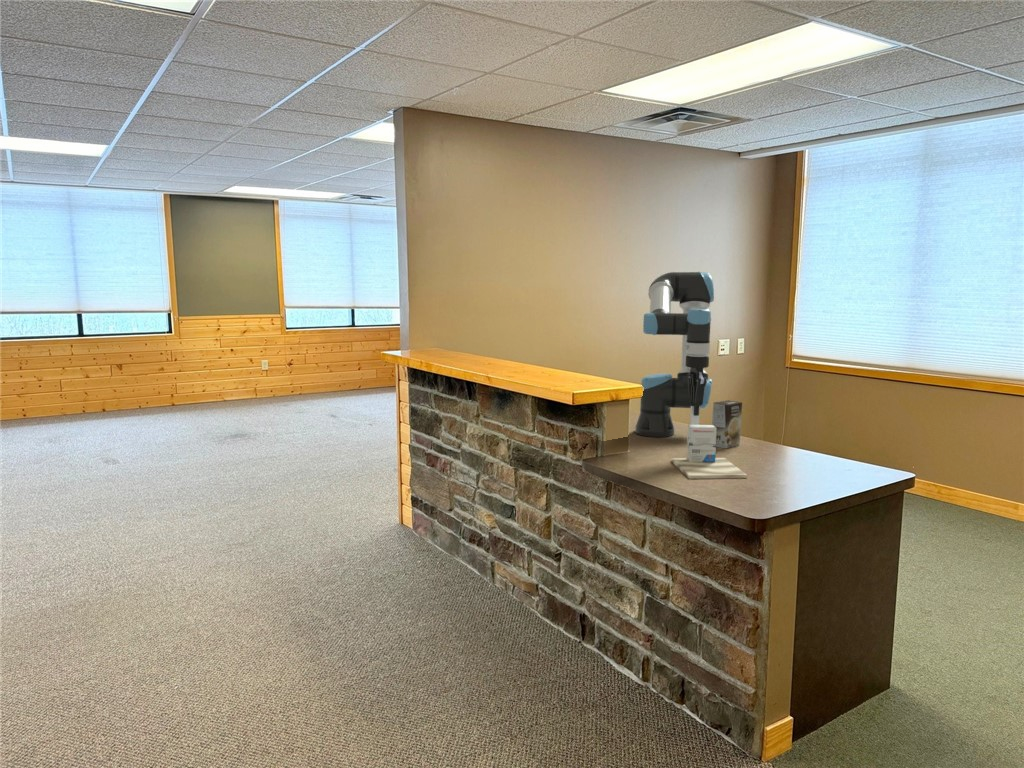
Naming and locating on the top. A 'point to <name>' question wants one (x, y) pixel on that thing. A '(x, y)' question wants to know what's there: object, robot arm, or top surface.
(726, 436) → the coffee box
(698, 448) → the ink box
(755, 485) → the top surface
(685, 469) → the cloth
